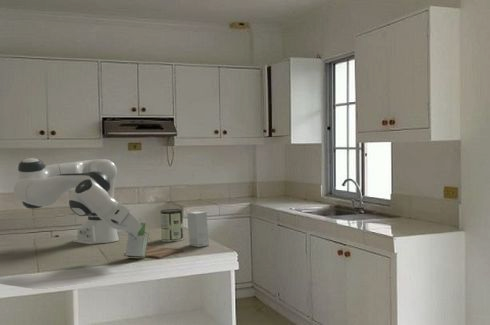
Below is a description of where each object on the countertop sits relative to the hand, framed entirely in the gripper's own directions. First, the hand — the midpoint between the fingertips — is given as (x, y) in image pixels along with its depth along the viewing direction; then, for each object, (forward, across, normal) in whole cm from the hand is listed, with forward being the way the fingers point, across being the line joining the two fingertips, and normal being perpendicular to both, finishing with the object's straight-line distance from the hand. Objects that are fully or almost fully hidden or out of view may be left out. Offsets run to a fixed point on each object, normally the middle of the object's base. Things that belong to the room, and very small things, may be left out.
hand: (135, 235), depth 208 cm
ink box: (+6, 0, -6) cm, 9 cm away
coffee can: (+31, -26, +17) cm, 44 cm away
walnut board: (+14, -4, +1) cm, 15 cm away
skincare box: (+30, -4, +17) cm, 35 cm away
